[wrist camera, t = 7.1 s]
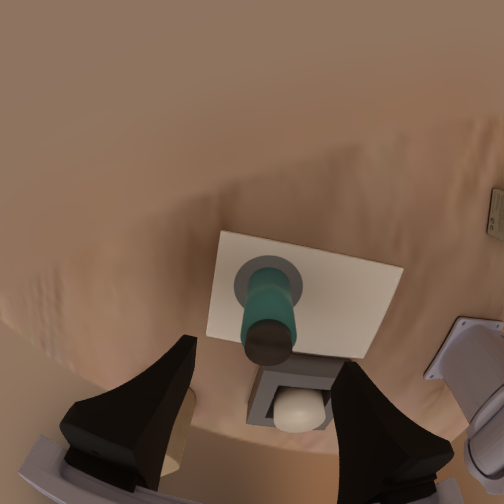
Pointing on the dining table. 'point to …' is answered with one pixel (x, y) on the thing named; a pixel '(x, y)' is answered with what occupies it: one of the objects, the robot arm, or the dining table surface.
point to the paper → (305, 293)
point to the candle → (179, 434)
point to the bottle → (268, 318)
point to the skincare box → (497, 215)
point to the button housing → (292, 385)
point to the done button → (298, 409)
